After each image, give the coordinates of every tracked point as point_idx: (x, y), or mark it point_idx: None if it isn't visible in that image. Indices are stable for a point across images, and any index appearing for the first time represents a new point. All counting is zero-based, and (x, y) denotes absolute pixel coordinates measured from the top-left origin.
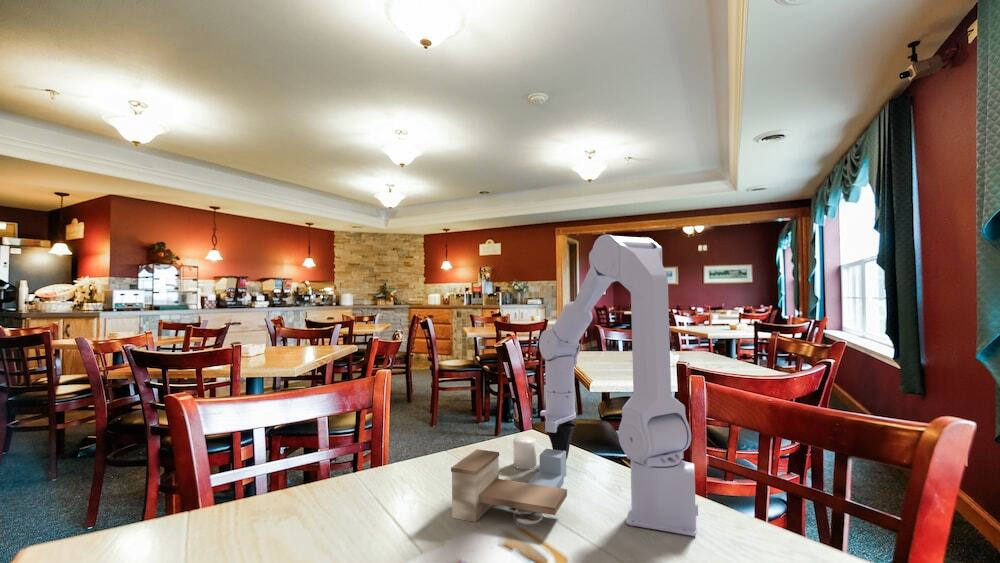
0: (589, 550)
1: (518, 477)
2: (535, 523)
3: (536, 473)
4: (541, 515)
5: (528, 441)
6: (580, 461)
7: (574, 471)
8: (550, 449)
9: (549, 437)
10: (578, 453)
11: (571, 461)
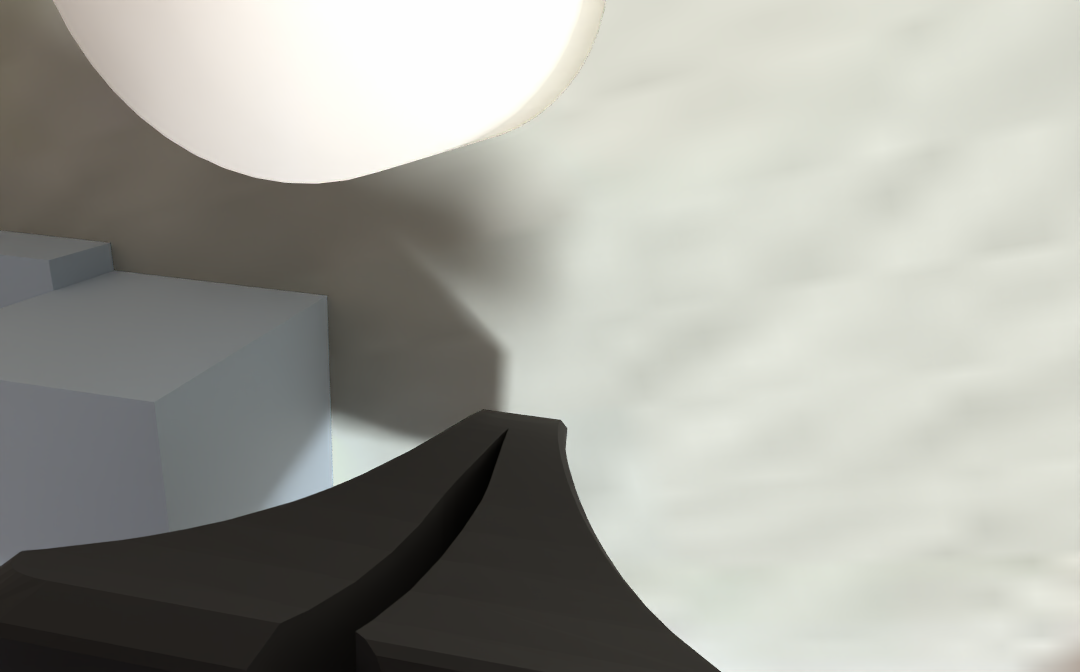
0: None
1: (58, 21)
2: None
3: (4, 263)
4: None
5: (219, 20)
6: (759, 609)
7: None
8: (153, 475)
9: (240, 521)
10: (1066, 583)
11: (737, 521)
